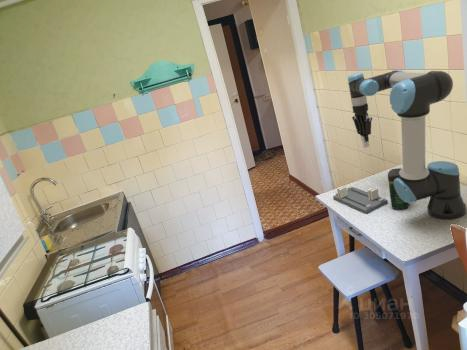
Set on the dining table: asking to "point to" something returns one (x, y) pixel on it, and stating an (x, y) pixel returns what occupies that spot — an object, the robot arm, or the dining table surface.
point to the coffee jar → (395, 199)
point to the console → (360, 200)
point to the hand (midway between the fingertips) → (366, 146)
